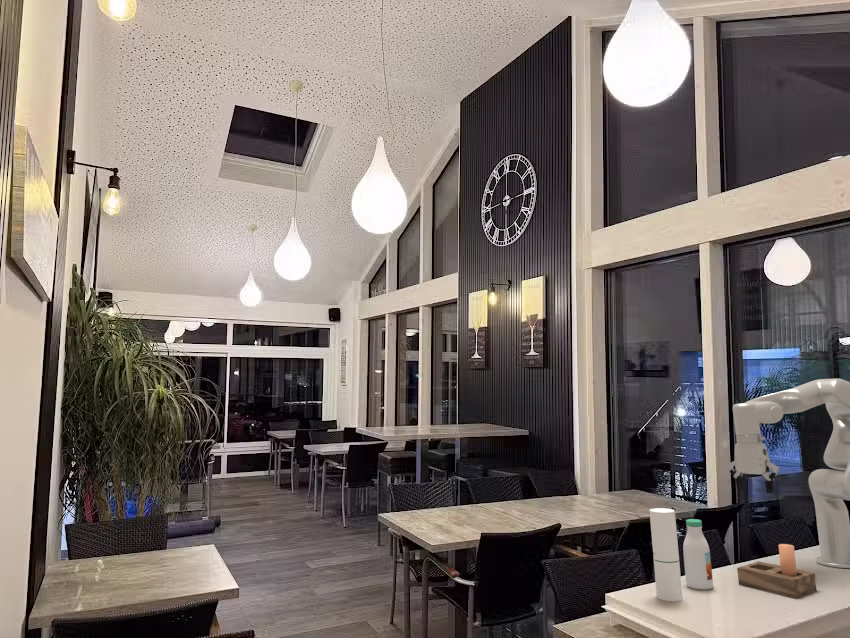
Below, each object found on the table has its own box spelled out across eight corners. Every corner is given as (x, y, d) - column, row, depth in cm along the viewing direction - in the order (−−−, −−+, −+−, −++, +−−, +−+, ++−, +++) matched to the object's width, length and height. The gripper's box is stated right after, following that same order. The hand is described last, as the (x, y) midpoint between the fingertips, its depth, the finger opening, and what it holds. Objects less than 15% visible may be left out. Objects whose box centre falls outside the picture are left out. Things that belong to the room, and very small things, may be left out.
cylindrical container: (678, 593, 181) (670, 508, 185) (685, 601, 174) (678, 512, 178) (653, 593, 182) (646, 508, 185) (660, 601, 175) (653, 512, 178)
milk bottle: (702, 591, 182) (695, 523, 185) (680, 585, 189) (675, 519, 192) (718, 587, 186) (712, 520, 188) (697, 581, 192) (691, 516, 195)
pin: (787, 584, 183) (782, 543, 185) (800, 587, 180) (796, 545, 181) (780, 586, 181) (775, 545, 183) (794, 590, 178) (789, 547, 179)
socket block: (760, 577, 194) (758, 561, 195) (816, 590, 180) (814, 572, 180) (738, 584, 188) (737, 567, 189) (795, 598, 173) (793, 580, 174)
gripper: (780, 439, 200) (787, 492, 198) (730, 438, 214) (736, 487, 212) (769, 441, 196) (776, 495, 193) (718, 440, 210) (724, 490, 207)
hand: (755, 491), depth 203 cm, fingers open, 9 cm apart
